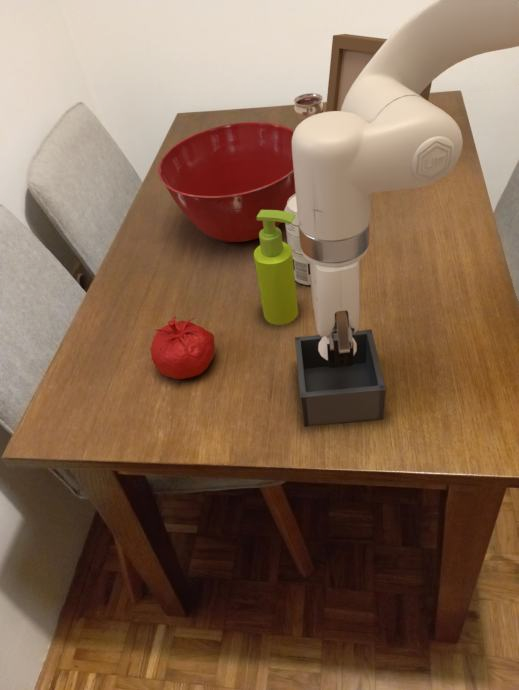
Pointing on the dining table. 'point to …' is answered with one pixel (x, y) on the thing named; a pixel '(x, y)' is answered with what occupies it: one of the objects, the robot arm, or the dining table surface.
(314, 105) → the wineglass
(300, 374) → the grey open box
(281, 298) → the soap dispenser
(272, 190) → the mixing bowl
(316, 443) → the dining table surface
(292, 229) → the supplement can
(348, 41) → the photo frame
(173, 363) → the red tomato
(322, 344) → the white jar
